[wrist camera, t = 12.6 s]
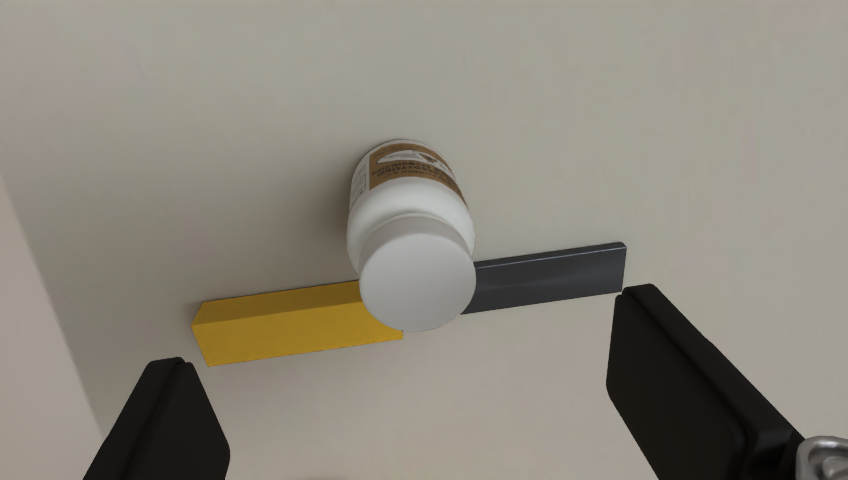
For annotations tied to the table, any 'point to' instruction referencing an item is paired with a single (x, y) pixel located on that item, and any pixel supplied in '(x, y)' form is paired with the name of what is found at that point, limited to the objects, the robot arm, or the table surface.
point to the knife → (353, 324)
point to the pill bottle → (410, 237)
